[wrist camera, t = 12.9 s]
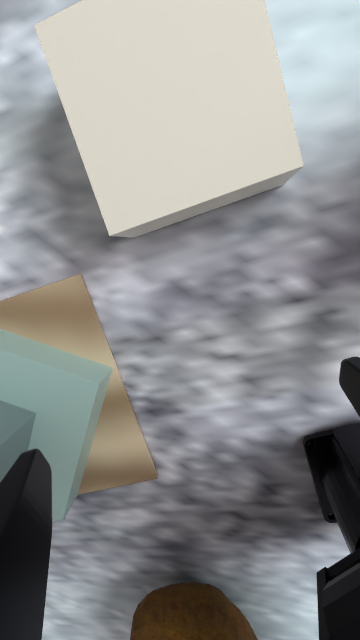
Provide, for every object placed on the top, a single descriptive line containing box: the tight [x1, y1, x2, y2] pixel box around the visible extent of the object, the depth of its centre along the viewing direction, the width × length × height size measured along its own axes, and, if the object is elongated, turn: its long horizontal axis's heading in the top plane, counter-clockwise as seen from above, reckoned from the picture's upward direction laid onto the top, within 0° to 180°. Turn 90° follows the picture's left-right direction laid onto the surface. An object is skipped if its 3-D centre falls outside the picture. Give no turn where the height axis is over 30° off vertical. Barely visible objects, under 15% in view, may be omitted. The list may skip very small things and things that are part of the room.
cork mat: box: [0, 274, 158, 495], centre depth 23 cm, size 15×15×1 cm
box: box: [34, 0, 304, 238], centre depth 16 cm, size 9×9×4 cm
